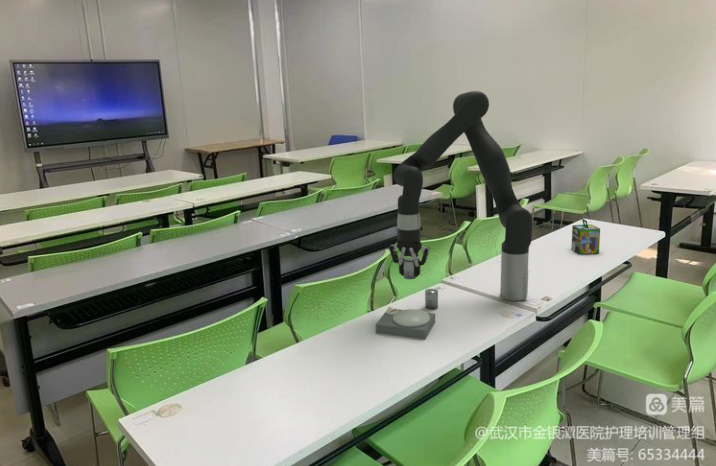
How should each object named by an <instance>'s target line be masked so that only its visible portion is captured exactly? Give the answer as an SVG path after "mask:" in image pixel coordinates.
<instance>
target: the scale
mask: <svg viewBox="0 0 716 466" xmlns="http://www.w3.org/2000/svg"><path fill="white" fill-rule="evenodd" d="M435 324H436V313H434V312H426V311H424V310H420V309H415V308H414V309H412V308H409V309H398V308H390V307H389V308H387V309H386V311H385V312H384V313H383V314H382V316H381V317H380V318H379V319H378V321H377V322H375V333H376V334H381V335H389V336H396V337H404V338H412V339H413V338H414V339H418V340H420V339H421V340H426V339H427V338H428V336H429V334H430V332H431V330H432V329H433V327H434V325H435Z"/></svg>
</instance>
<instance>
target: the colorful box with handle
mask: <svg viewBox="0 0 716 466" xmlns="http://www.w3.org/2000/svg"><path fill="white" fill-rule="evenodd" d="M581 221H582V224H572V230H571V246H570V247H571V250H572V251H573V250H574V253H576V254H577V253H578V254H577V255H579V254H581V255H590V254H591V255H592V254H593V255H594V254H600V245H601V244H600V239H601V228H600V227H598V226H596V225H594V224H588V221H587V220H586V219H584V218H581Z"/></svg>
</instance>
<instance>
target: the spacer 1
mask: <svg viewBox="0 0 716 466" xmlns="http://www.w3.org/2000/svg"><path fill="white" fill-rule="evenodd" d="M402 278H403V279H405V280H414V279H417V277H415V263H414V260H413V258H412V257H405V259H403V276H402Z"/></svg>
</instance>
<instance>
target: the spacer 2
mask: <svg viewBox="0 0 716 466" xmlns="http://www.w3.org/2000/svg"><path fill="white" fill-rule="evenodd" d="M424 307H425V309H426V310H430V311H431V310H432V311H433V310H437V309H438V308H439V290H438V289H435V288H427V289H425V291H424Z"/></svg>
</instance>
